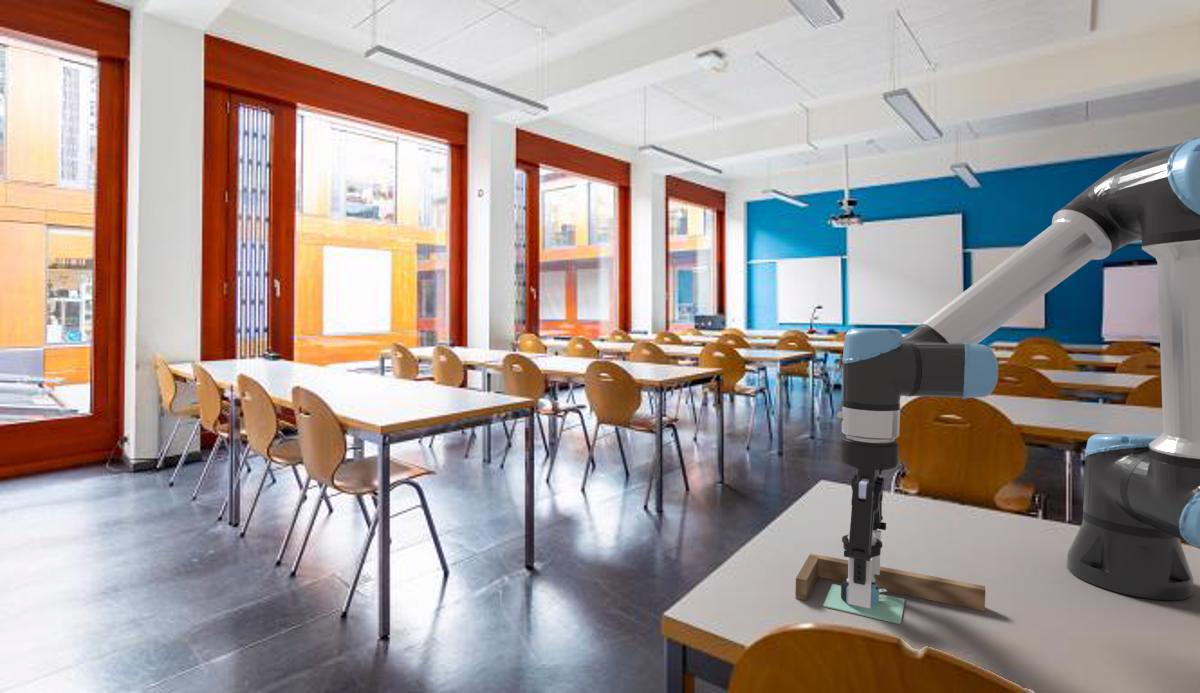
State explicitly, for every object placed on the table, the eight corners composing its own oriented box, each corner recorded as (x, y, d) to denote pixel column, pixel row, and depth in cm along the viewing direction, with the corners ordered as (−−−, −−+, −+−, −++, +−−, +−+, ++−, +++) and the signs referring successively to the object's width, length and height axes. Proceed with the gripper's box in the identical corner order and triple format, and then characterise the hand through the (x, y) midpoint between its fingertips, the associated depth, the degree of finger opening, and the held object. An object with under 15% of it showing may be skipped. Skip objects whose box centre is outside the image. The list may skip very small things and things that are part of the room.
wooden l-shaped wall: (984, 606, 89) (984, 586, 89) (987, 641, 79) (988, 618, 79) (809, 571, 101) (810, 553, 100) (795, 598, 91) (795, 578, 91)
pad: (904, 600, 91) (904, 598, 91) (900, 624, 84) (900, 622, 84) (832, 585, 96) (832, 583, 96) (823, 606, 89) (823, 605, 89)
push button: (875, 592, 93) (877, 526, 92) (897, 609, 88) (899, 539, 87) (833, 594, 92) (835, 528, 91) (852, 612, 87) (854, 541, 86)
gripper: (852, 422, 100) (848, 555, 101) (826, 449, 79) (822, 616, 80) (904, 427, 97) (899, 564, 98) (891, 456, 76) (886, 630, 77)
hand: (864, 587), depth 89 cm, fingers open, 12 cm apart
